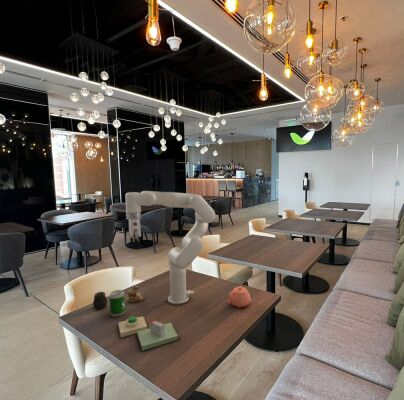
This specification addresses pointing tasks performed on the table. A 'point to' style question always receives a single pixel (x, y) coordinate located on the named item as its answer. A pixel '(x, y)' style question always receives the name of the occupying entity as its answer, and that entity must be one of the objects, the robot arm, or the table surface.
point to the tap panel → (156, 337)
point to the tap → (157, 328)
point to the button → (132, 319)
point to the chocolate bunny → (134, 294)
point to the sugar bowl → (239, 297)
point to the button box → (132, 326)
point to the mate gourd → (99, 300)
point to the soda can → (117, 303)
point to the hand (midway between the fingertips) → (134, 246)
